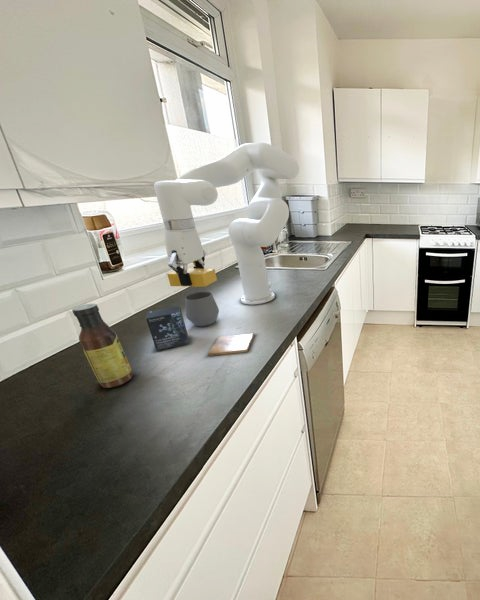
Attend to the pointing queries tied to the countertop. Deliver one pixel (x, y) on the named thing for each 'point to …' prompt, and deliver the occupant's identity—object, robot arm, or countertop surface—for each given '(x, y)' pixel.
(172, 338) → the box
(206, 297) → the cup
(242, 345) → the plate
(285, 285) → the countertop surface
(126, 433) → the countertop surface
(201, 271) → the block
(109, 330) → the sauce bottle
